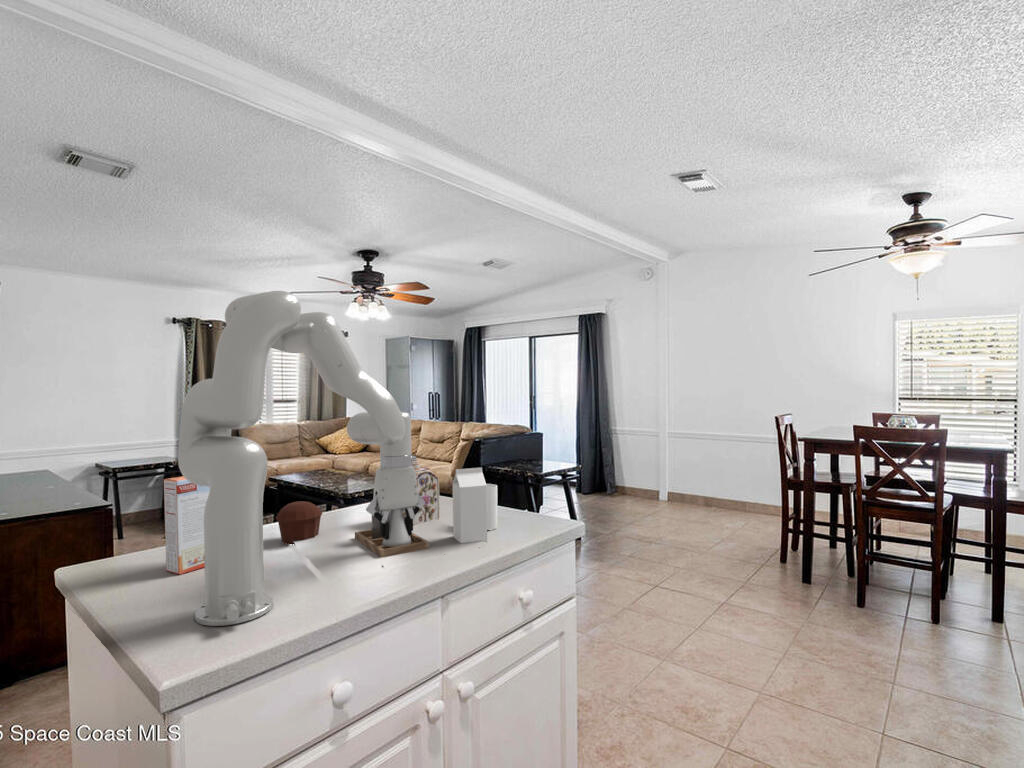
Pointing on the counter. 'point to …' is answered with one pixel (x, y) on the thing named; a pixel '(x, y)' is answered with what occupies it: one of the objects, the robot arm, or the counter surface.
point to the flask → (397, 530)
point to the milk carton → (469, 505)
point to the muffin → (298, 521)
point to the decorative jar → (426, 494)
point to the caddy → (385, 551)
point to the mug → (491, 506)
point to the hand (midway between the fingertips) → (396, 535)
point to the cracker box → (184, 524)
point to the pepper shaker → (377, 525)
